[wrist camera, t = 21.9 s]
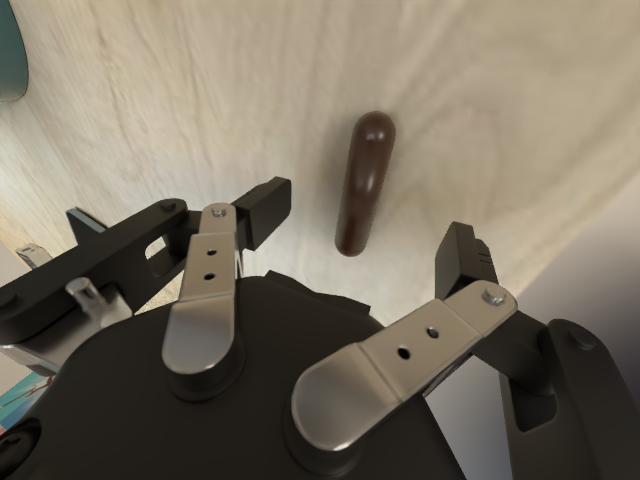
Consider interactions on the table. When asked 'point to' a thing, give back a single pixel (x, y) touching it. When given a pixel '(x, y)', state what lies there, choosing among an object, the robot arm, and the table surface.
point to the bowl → (11, 57)
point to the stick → (363, 180)
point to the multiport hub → (33, 255)
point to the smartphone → (82, 226)
